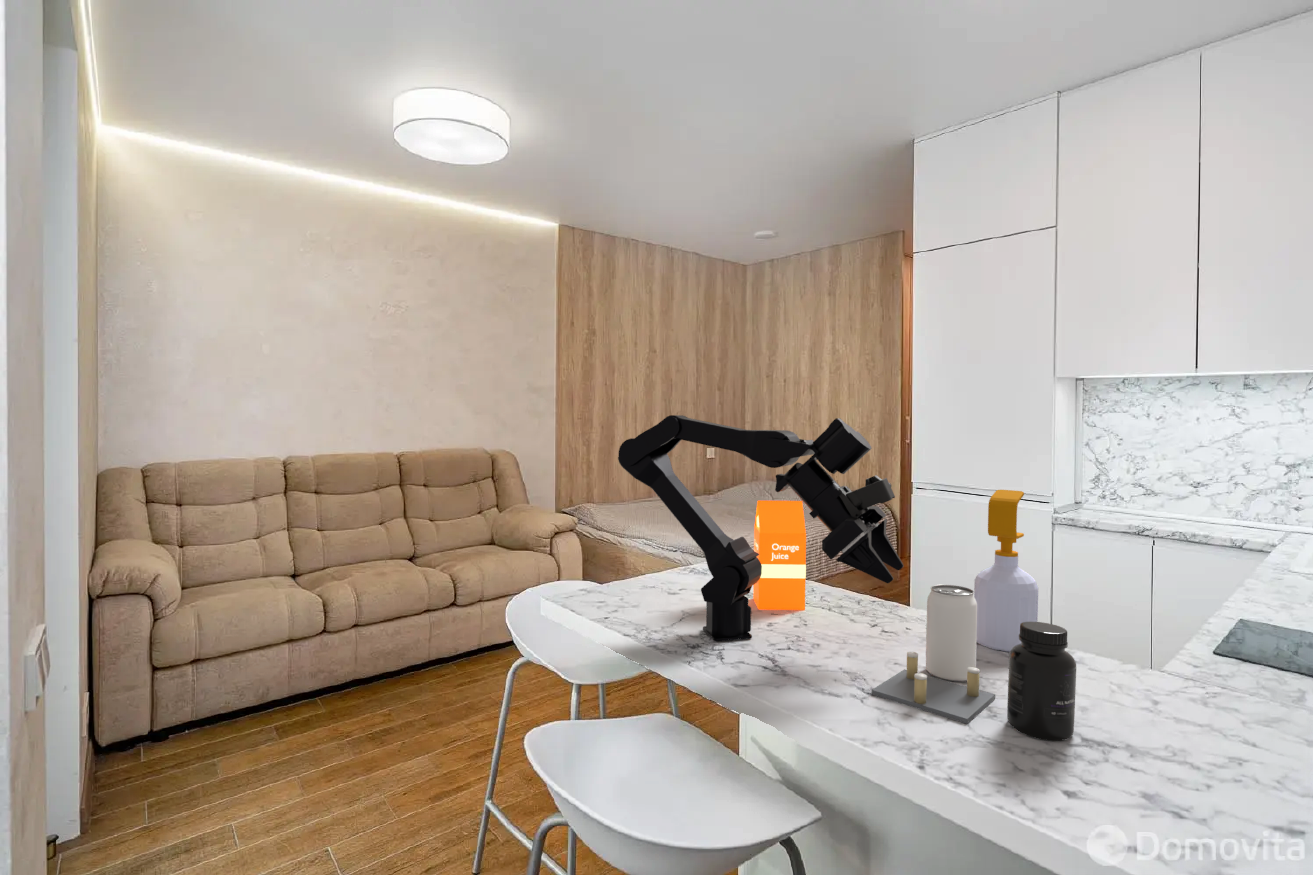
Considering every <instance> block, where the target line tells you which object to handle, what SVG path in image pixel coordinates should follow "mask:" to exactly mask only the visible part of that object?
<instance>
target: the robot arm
mask: <svg viewBox="0 0 1313 875" xmlns="http://www.w3.org/2000/svg"><path fill="white" fill-rule="evenodd" d="M681 441H685V442H690V443H695V444H700V445H703V446H709V447H714V448H717V449H722V450H727V451H731V452H734V453H738V454H741V455H743V456H744V457H746V458H748V459H749V460H751V461H753V462H755V463H758V464H761V465H762V466H765V467H768V468H771V469H774V468H775V469H777V468H783V467H786V466H791V465H793V464H794V465H793V466H792V467H791V468H789V469H788V471H786V472H785V473H784V474H783V473H778V474H776V475H775V481H776V483H775V489H774V491H775V493H780V492H784V491H786V490H787V489H788V488H790V489H791V490H792V491H793V492H794V493H795V494H796V496H797V497H798V498H799V499H800V501H802V503H804V504H805V505H806V507H808V509H809V510H810V512H809V515H810V516H811V517H812V519H816V518H817V519H819V521H820V522H821V523H822V524H823V525H824V526H825V527H826V528H827V529H828V531H829V533H828V535H827V536H825V537H824V538H823V539H822V540H821V550H822V551H823V553H824V554H825V555H826V556H827V557H828V558H829V560H833V559H834V558H836V559H835V560H836V562H838V563H842V564H845V565H846V566H849V567H851V568H854V569H856V570H858V571H860V572H863V573H865V574H867V575H868V576H871V577H873V578H875V579H877V580H879V581H881V582H883V583H885V584H890V583H891V582H892V581H894V576H892V573H891V572H890V571H889V569H888V568H887V565H888V566H889V567H891V568H893V569H894V570H896V571H901V570H902V569H903V568H904V563H903V561H902V560H901V558H900V556H899V555H898V553H897V551H896V550H895V548H894V545H892V542H891V541H890V539H889V536H888V535H887V523H888V519H887V518H885V517H886V516H887V514H886V513H885V512H884V511H883V510H882V509H881V508H880V506H877V505H878V504H884V503H887V502H889V501H891V500H893V499H895V498H896V495H895V494H894V491H893V489H892V484H891V483H890V482H889V480H888V478H887V477H885V478H883V479H882V478H881V477H879V476H878V475H876V474H875V475H874V476H870V477H869V478H868V477H867V478H866V479H865V486H861V487H860V488H857V489H855V490H853V491H852V490H851V488H850V487H848V486H847V485H843V486H841V485H840V484H839V483H838V482H837V481H836V480H835V479H834V478H833V476H831V475H830V474H833V475H834V474H836V473H837V472H838V473H839V474H841V475H845V474H846V473H847V472H848V471H849V470H850V469H851V468H853V466H855V465H856V464H857V463H858V462H859V461H860V460H861V459H862V458H863V457H865V455H867V453H869V452H870V451H871V449H872V446H871V444H870V443H869V441H868V440H867V438H866V437H864V436H863V435H862V434H861V432H859V430H858V431H856V430H855V429H854V428H853V427H852V426H850V425H849V424H848V423H846V422H845V421H844V420H843V419H841V417H840V418H839V417H838V418H837V417H836V418H835V419H834V420H832V421H831V423H830V424H829V425H828V427H827V428H826V429H825V430H824V431H823V432H822V433H821V434H819V436H818V437H816V439H814V440H813V439H801V438H799V436H798V435H797V434H796V433H795V432H793V431H791V430H785V429H784V430H783V429H780V430H779V429H746V428H745V429H744V428H739V427H734V426H730V425H725V424H720V423H714V422H712V421H711V422H710V421H705V420H700V419H695V418H690V417H688V416H686V415H684V414H683V415H679V414H678V415H677V414H676V415H674V414H673V415H668V416H666V417H665V418H663V419H662V420H661V421H660V422H658V423H657V424H654V425H653V426H652V427H650V428H648V429H646V430H645V431H643V432H641V433H640V434H638V435H637V436H635V437H634V438H633V437H632V438H628V439H626V440H623V442H622V443H621V445H620V446H619V449H618V456H617V460H618V464H619V465H620V466H621V468H623V469H624V470H625V471H626V472H627V473H628V474H629V475H631V476H632V477H633V479H635V480H636V481H638V482H640V483H642V484H644V485H646V486H647V487H649V488H650V489H651V490H652V491H653V492H654V493H655V494H656V495H657V497H658V498H659V499H660V500H661V502H662V503H663V504H664V505H665V507H666V508H667V509H668V510H669V512H671V514H672V515H673V516H674V518H676V520H677V522H678V523H679V524H680V525H681V526H682V528H683V529H684V530H685V531H686V532H687V533H688V535H689V536H690V537H691V538H692V540H693V541H694V542H695V543H696V545H698V547H699V548H700V549H701V551H702V552H703V554H704V558H705V562H706V564H707V569H708V571H709V573H710V575H711V576H712V578H711V579H710V580H709V581H708V582H707V583H706V584H704V585H703V586H702V587H701V588H700V592H701V595H702V599H703V601H704V602H705V603H706V609H705V612H706V619H705V620H706V621H705V626H702V630H703V632H704V633H706V635H708V636H709V638H710V639H712V640H713V641H714V642H724V641H734V640H736V641H737V640H738V641H740V640H750V639H752V638H753V635H752V634H751V633H750V632H751V631H752V628H751V626H752V607H751V606H750V605H749V598H748V597H747V596H746V595H749V594H750V592H751V590H752V587H753V585H754V584H756V583H757V582H758V581H759V579H760V577H761V574H762V565H761V563H760V561H759V559H758V558H757V556H759V553H757V552H755V551H754V548H752V547H751V546H750V544H749V542H748V541H747V540H746V538H745V537H744V536H740V537H738V538H735V539H733V538H731V537H730V536H728V535H727V534H726V533H725V532H724V531H723V530H722V529H721V527H720V526H719V525H718V524H717V523H716V521H715V520H714V519H713V518H712V517H711V516H710V514H709V513H708V512H707V511H706V509H705V508H704V507H703V506H702V505H701V503H699V501H698V500H697V498H696V497H695V496H694V495H693V494H692V492H690V490H689V489H688V488H687V486H685V485H684V483H683V482H682V480H681V479H680V478H679V477H678V476H677V475H676V474H675V472H674V470H673V466H672V462H671V458H670V456H669V455H668V454H669V453H670V452H671V451H673V450H674V449H675V448H676V446H677V445H679V443H680V442H681ZM806 456H810V457H809V458H808V459H807V460H806V461H805V462H804V463H800V462H798V460H799V459H800V458H801V457H806ZM828 472H829V473H828ZM884 518H885V519H884ZM883 519H884V520H883ZM879 522H880V523H879ZM840 553H842V554H841V555H839V554H840ZM838 555H839V556H838ZM837 556H838V557H837Z"/></svg>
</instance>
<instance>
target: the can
mask: <svg viewBox="0 0 1313 875" xmlns="http://www.w3.org/2000/svg"><path fill="white" fill-rule="evenodd" d="M925 628H926V632H925V633H926V635H925V636H926V637H925V639H926V640H925V670H926V672H928V673H929V675H930V676H931V677H934V678H938V679H942V680H945V681H949V682H953V683H957V682H958V683H960V682H963V683H964V682H967V668H968V667H974V668H977V642H976V638H977V602H976V600H975V598H974V589H971V588H968V587H966V586H962V585H961V586H960V585H954V584H934V585H932V586H930V592H929V594H928V596H927V600H926V627H925Z"/></svg>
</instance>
